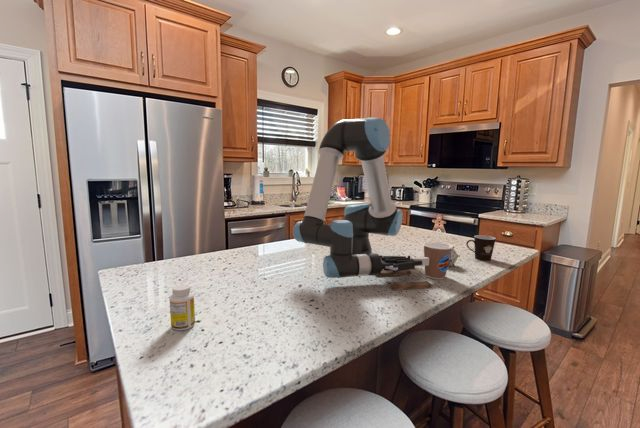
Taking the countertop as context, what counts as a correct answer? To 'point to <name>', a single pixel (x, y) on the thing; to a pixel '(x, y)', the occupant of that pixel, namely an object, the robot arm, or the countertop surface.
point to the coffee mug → (483, 247)
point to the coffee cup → (437, 259)
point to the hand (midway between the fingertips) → (427, 261)
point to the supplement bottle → (182, 308)
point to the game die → (453, 257)
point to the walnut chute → (405, 285)
